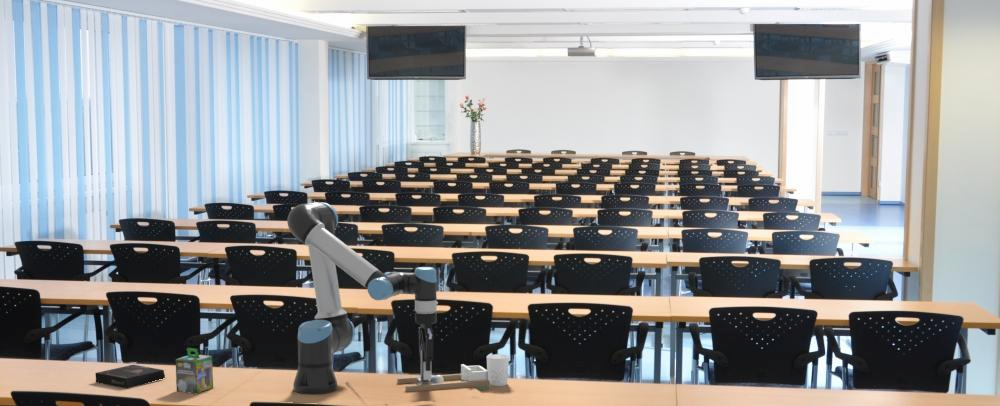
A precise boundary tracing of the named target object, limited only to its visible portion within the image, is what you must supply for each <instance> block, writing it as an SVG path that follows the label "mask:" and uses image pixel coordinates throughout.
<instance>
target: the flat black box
mask: <svg viewBox="0 0 1000 406" xmlns="http://www.w3.org/2000/svg"><path fill="white" fill-rule="evenodd" d="M163 378H165V379H166V374H165V370H164V369H159V368H156V367H155V368H154V367H149V366H143V365H137V364H128V365H126V366H121V367H116V368H113V369H112V368H111V369H107V370H103V371H98V372H95V383H96V382H99V383H98V384H100V383H103V384H102V385H105V384H106V386H111V387H116V388H121V389H132V388H135V387H139V386H143V385H142V384H144V385H146V384H145V383H148V382H152V381H155V380H159V379H163ZM152 383H153V382H152ZM148 384H149V383H148ZM138 385H139V386H138ZM134 386H135V387H134Z"/></svg>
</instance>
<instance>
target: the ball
mask: <svg viewBox="0 0 1000 406" xmlns="http://www.w3.org/2000/svg"><path fill="white" fill-rule="evenodd" d="M441 375H442V374H437V375H434V376H435V377H436V384H438V383H445V382H444V381H445V380H444V379H443V377H442V376H441Z"/></svg>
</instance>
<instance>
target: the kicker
mask: <svg viewBox="0 0 1000 406" xmlns="http://www.w3.org/2000/svg"><path fill="white" fill-rule="evenodd" d="M420 349H421V358H420V377H421V378H417V383H416V385H425V384H436V377H434V376H435V375H433V374H432V380H423V362H422V360H424V343H423V344H421V346H420Z"/></svg>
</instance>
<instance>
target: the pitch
mask: <svg viewBox="0 0 1000 406" xmlns="http://www.w3.org/2000/svg"><path fill="white" fill-rule="evenodd" d="M440 375H441V376H442V377H443V379H444V381H455V380H461V373H453V374H440ZM433 376H434V377H435V376H436V375H433ZM417 378H421V376H411V377H397V379H396V381H397V382H396V384H398V385H399V384H402V385H403V384H412V385H405V386H404V387H405V392H408V393H409V392H419V391H420V392H421V391H432V390H444V389H446V390H447V389H460V388H472V387H473V388H474V389H476V390H477V391H479V390H481V391H482V390H490V387H491V385H490V380H479V381H455V382H443V383H438V384H425V385H418V384H417ZM413 384H415V385H413Z"/></svg>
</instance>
